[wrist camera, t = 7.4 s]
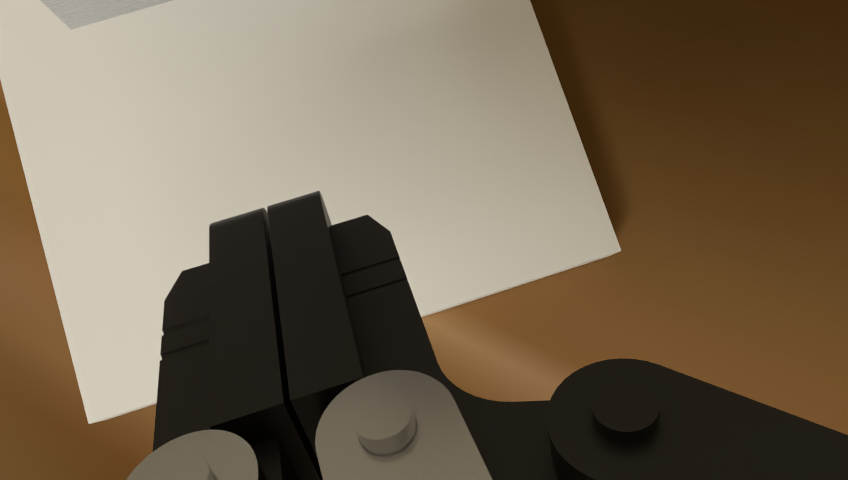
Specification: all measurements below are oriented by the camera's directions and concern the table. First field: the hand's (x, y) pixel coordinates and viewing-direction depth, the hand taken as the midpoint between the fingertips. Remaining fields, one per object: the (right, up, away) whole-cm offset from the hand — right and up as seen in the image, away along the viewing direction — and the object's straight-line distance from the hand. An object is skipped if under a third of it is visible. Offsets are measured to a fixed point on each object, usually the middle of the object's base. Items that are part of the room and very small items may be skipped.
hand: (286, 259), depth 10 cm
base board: (-4, +12, +9) cm, 16 cm away
